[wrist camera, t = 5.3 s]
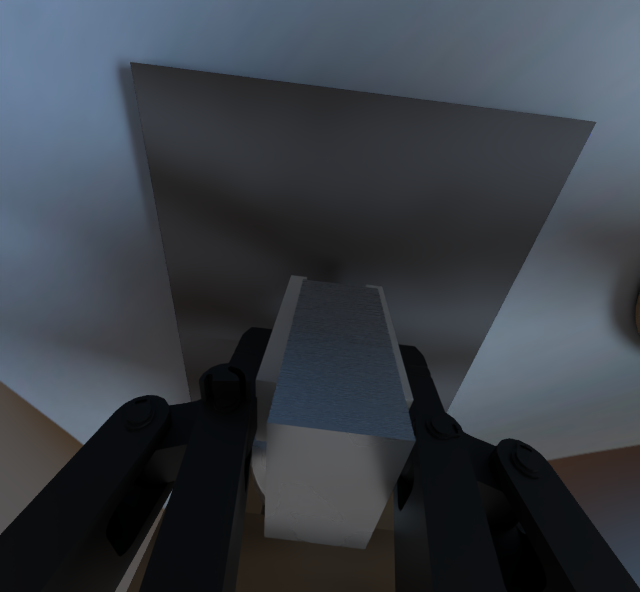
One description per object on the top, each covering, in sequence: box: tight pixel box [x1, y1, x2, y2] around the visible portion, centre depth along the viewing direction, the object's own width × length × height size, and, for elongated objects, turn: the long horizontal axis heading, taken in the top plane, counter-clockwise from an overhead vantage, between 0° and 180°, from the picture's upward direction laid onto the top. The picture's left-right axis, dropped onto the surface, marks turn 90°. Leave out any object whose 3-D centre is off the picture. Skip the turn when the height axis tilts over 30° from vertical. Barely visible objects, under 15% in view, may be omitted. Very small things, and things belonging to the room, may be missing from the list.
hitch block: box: [127, 62, 596, 592], centre depth 12 cm, size 24×18×12 cm
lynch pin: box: [251, 279, 416, 549], centre depth 12 cm, size 18×5×6 cm, turn 174°
